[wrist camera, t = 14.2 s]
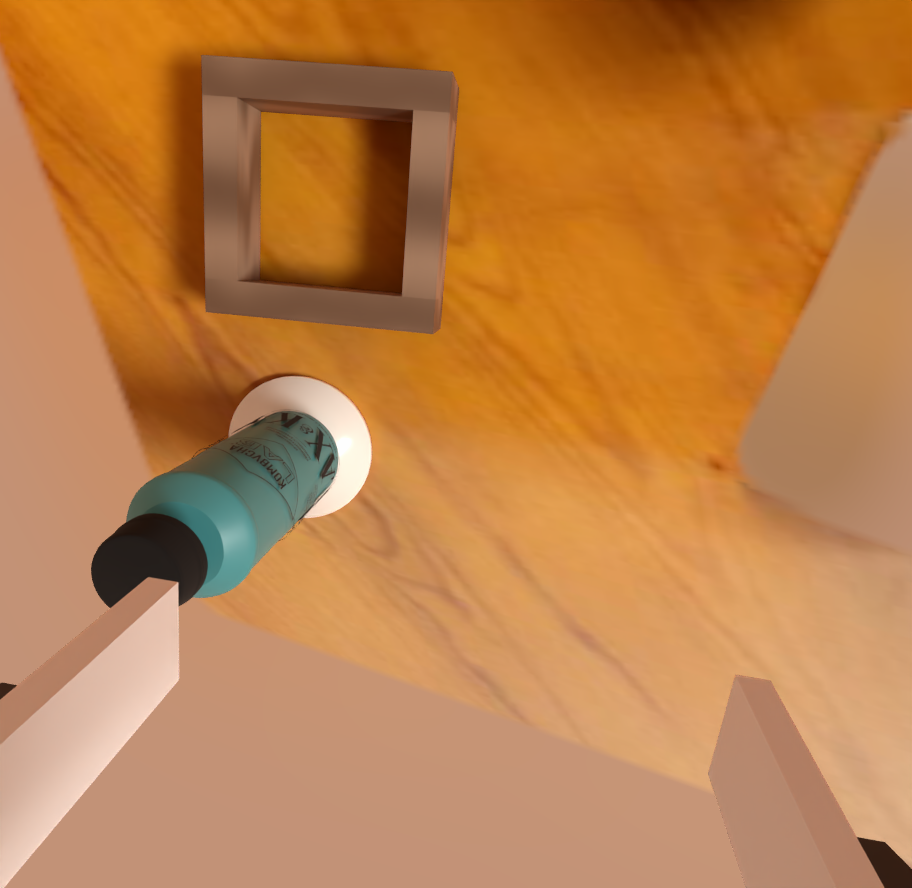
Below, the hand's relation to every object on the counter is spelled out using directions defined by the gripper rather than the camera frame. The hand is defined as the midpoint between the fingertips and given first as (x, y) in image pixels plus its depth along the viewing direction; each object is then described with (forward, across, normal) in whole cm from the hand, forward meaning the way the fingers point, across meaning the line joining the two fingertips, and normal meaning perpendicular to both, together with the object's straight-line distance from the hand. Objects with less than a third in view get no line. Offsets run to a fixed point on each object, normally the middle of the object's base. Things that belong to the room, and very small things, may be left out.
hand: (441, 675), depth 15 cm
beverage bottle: (+29, -13, -5) cm, 32 cm away
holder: (+29, -12, +11) cm, 33 cm away
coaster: (+29, -13, -5) cm, 32 cm away
